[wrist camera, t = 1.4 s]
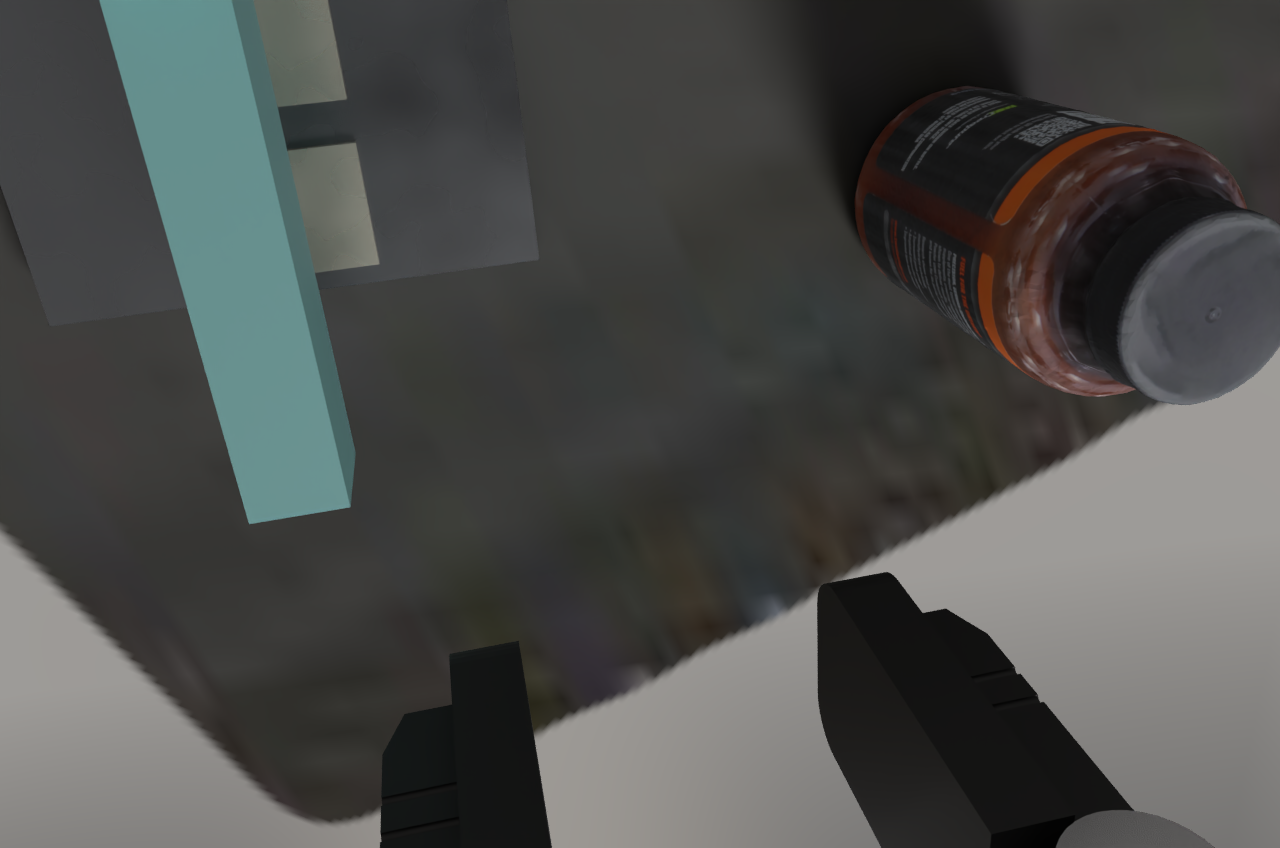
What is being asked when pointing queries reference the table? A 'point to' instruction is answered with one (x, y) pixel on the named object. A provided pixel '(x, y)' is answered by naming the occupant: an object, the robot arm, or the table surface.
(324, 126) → the plate
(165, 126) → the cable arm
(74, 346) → the table surface
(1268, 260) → the supplement bottle
